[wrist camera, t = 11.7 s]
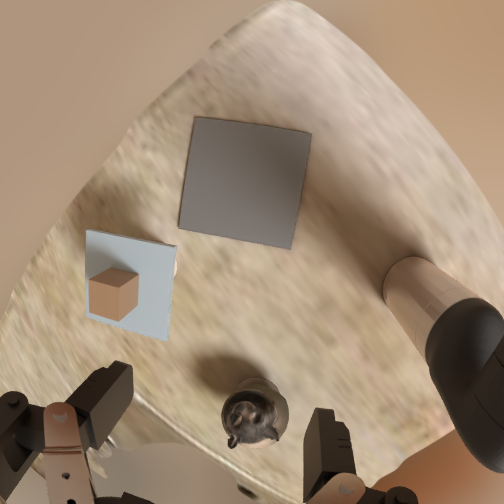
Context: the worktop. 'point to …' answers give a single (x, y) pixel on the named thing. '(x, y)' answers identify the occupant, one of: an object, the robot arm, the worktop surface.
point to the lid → (129, 282)
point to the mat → (244, 181)
